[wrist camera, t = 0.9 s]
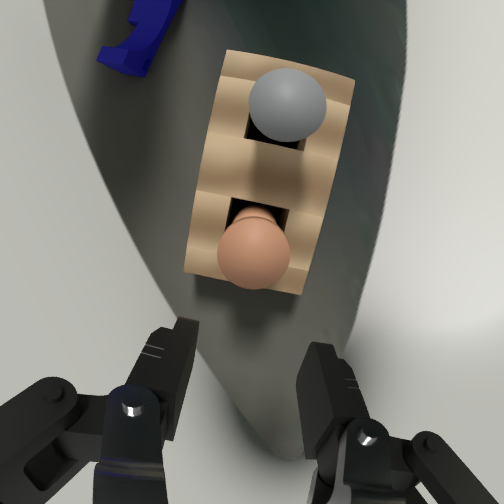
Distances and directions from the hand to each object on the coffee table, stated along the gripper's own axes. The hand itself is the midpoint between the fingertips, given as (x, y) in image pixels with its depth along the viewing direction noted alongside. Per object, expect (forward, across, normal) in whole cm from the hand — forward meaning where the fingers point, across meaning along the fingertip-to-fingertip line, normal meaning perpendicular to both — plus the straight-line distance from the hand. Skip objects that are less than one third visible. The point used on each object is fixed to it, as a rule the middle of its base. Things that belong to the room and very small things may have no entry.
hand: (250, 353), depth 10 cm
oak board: (+21, 0, -5) cm, 22 cm away
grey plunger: (+18, 0, -10) cm, 20 cm away
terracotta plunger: (+18, 0, 0) cm, 18 cm away
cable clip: (+22, +16, -19) cm, 33 cm away
